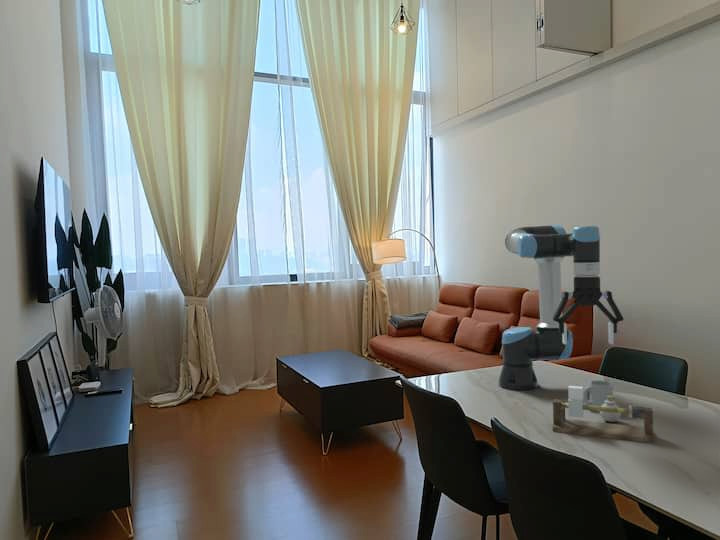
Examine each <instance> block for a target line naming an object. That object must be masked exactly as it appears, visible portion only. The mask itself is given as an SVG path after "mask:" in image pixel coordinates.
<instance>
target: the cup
mask: <svg viewBox="0 0 720 540" xmlns="http://www.w3.org/2000/svg"><path fill="white" fill-rule="evenodd" d="M603 391H604V392H605V393H604V395H603V393H602V392H603ZM588 392H589V399H588ZM598 394H599V400H598ZM607 396H613V397H614V385H613V382H611V381H607V380H601V379H600V380H597V379H595V380H590V381H589V385H587V386H584V387H583V404H584V405H591V406H602V405H603V404H604V403H606V402H604V401H605V400H607V399H608V398H607ZM612 400H614V398H613V399H612ZM600 403H602V404H600Z"/></svg>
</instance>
